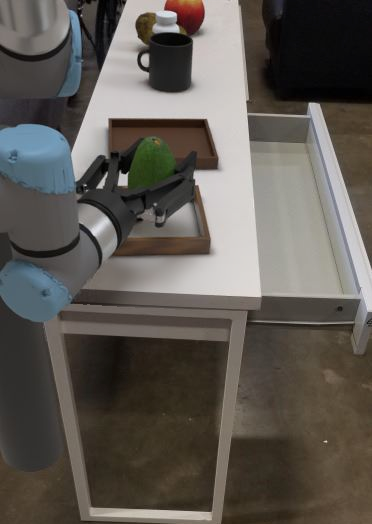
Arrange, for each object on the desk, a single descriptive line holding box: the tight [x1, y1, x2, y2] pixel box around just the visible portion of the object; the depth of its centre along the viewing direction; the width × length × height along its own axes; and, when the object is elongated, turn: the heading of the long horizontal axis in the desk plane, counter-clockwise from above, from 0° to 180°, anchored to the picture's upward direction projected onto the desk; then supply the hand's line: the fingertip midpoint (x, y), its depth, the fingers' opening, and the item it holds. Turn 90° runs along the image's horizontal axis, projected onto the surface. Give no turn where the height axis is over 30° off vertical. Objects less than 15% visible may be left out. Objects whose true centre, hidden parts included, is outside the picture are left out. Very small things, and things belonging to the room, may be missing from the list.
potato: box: [134, 11, 187, 46], centre depth 141 cm, size 8×13×8 cm, turn 94°
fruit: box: [163, 0, 206, 36], centre depth 150 cm, size 11×11×10 cm
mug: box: [136, 32, 194, 93], centre depth 126 cm, size 9×12×9 cm
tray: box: [107, 117, 220, 170], centre depth 107 cm, size 19×16×2 cm
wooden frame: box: [102, 184, 212, 256], centre depth 89 cm, size 16×16×2 cm
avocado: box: [127, 136, 178, 209], centre depth 84 cm, size 8×8×12 cm
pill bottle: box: [152, 10, 180, 35], centre depth 132 cm, size 6×6×11 cm
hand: (168, 153), depth 86 cm, fingers closed on avocado, 8 cm apart
